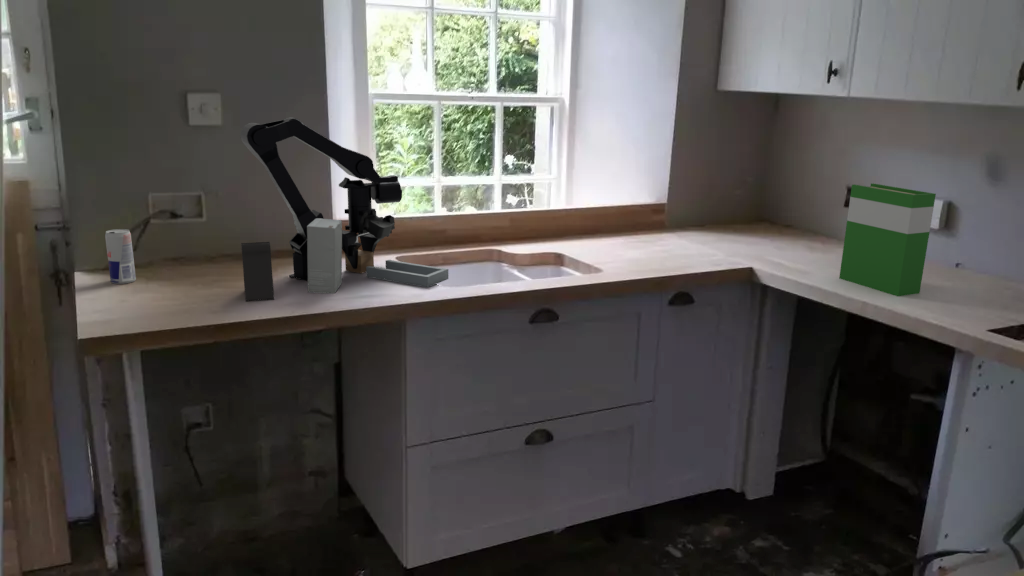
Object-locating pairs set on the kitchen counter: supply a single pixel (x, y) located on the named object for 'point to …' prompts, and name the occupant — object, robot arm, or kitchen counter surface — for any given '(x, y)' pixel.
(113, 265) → the energy drink
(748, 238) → the kitchen counter surface
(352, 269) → the walnut block
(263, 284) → the dark grey upright block
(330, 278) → the skincare box
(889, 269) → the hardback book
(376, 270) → the slate channel
